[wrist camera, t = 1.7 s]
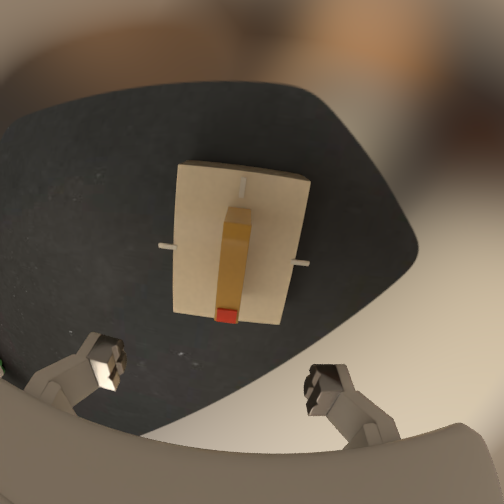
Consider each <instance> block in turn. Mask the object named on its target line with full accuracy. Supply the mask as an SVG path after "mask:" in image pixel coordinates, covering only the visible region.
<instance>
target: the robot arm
mask: <svg viewBox="0 0 504 504" xmlns="http://www.w3.org/2000/svg"><path fill="white" fill-rule="evenodd" d="M123 348H124V343H123V340H121V339H117V338H113V337H110V336H106V335H103V334H99V333H95V332H91V333H90V334H89V335H88V337H87V338H86V340H85V341H84V343H83V344H82V346H81V348H80V349H79V351H78V352H77V354H76V355H75V354H72V355H70V356H68V357H66V358H64V359H62V360H60V361H58V362H56V363H54V364H52V365H50V366H47V367H45V368H43V369H41V370H39V371H37V372H35V373H34V375H33V376H32V378H31V379H30V381H29V382H28V384H27V385H26V387H25V389H24V390H21V389H19V388H17V387H15V386H14V385H12V384H10V383H9V382H7V381H5V380H4V379H2V378H0V504H504V501H503V496H502V492H501V487H500V483H499V479H498V476H497V473H496V470H495V467H494V464H493V461H492V458H491V456H490V453H489V450H488V448H487V445H486V443H485V441H484V439H483V438H482V436H481V435H480V434H478V433H477V432H476V431H474V430H473V429H471V428H470V427H468V426H467V425H465V424H463V423H455V424H452V425H449V426H446V427H443V428H440V429H437V430H434V431H430V432H427V433H424V434H420V435H417V436H413V437H409V438H405V439H401V438H400V435H399V432H398V430H397V427H396V425H395V422H394V419H393V418H392V417H390V416H389V415H388V414H386V413H385V412H384V411H383V410H381V409H380V408H379V407H378V406H376V405H375V404H374V403H373V402H371V401H370V400H369V399H368V398H366V397H365V396H364V395H363V394H362V393H360V392H359V391H355V388H354V385H353V383H352V380H351V377H350V374H349V372H348V369H347V366H346V365H344V364H335V365H333V364H324V365H323V364H313V365H312V366H311V367H310V370H309V371H310V375H308V376H307V377H306V380H305V382H304V396H305V397H306V398H307V399H308V401H307V403H306V407H307V412H308V416H326V417H327V418H328V419H329V421H330V422H331V423H332V424H333V425H334V426H335V427H336V429H338V431H339V432H340V433H341V434H342V435H343V436H344V437H345V439H346V440H347V441H348V442H349V443H348V444H347V445H346V446H345V447H344V448H343V450H337V451H327V452H314V453H297V454H296V453H294V454H261V453H259V454H258V453H240V452H228V451H217V450H208V449H201V448H194V447H188V446H182V445H176V444H171V443H166V442H161V441H156V440H152V439H148V438H143V437H140V436H136V435H132V434H129V433H125V432H122V431H118V430H115V429H112V428H109V427H106V426H103V425H100V424H97V423H94V422H91V421H88V420H86V419H83V418H80V417H78V416H77V415H76V413H75V412H74V410H73V408H72V407H73V406H74V405H76V404H77V403H79V402H80V401H81V400H83V399H84V398H85V397H87V396H88V395H89V394H91V393H92V392H94V391H95V390H96V389H98V388H99V387H102V388H106V389H109V390H113V391H116V389H117V387H118V385H119V382H120V377H119V375H121V374H123V373H124V371H125V368H126V363H127V357H126V353H125V352H124V351H123Z"/></svg>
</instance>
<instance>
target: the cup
mask: <svg viewBox="0 0 504 504" xmlns="http://www.w3.org/2000/svg"><path fill="white" fill-rule="evenodd" d="M4 373H5V369H4V367H3V366H2V360H1V359H0V378H1V377H2V376H3V374H4Z"/></svg>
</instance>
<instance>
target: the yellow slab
mask: <svg viewBox="0 0 504 504" xmlns="http://www.w3.org/2000/svg"><path fill="white" fill-rule="evenodd" d="M251 229H252V214H251V209H245V208H237V207H228V209H227V212H226V216H225V219H224V223H223V232H222V241H221V251H220V261H219V271H218V282H217V293H216V304H215V316H214V321H217V322H226V323H234V324H235V323H236V324H237V323H238V318H239V311H240V304H241V297H242V290H243V283H244V276H245V269H246V263H247V256H248V249H249V242H250V235H251Z"/></svg>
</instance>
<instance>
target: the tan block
mask: <svg viewBox="0 0 504 504" xmlns="http://www.w3.org/2000/svg"><path fill="white" fill-rule="evenodd" d="M310 184H311V181H309V180H308V179H307V178H305V177H304V176H303V175H301V174H296V173H290V172H284V171H278V170H271V169H264V168H257V167H250V166H242V165H234V164H226V163H216V162H206V161H196V160H188V161H186V162H183V163H181V164H179V165H178V172H177V185H176V200H175V217H174V243H173V244H166V243H159V248H165V249H173V312H177V313H183V314H190V315H197V316H204V317H212V318H214V316H215V304H216V293H217V282H218V271H219V261H220V251H221V241H222V232H223V223H224V219H225V216H226V212H227V209H228V207H237V208H245V209H251V214H252V229H251V235H250V242H249V249H248V256H247V263H246V269H245V276H244V283H243V290H242V297H241V304H240V311H239V318H238V321H246V322H255V323H266V324H277V325H279V324H280V320H281V316H282V312H283V308H284V304H285V300H286V296H287V292H288V288H289V283H290V279H291V275H292V270H293V266H294V265H302V266H309V263H310V262H309V261H304V260H295V257H296V253H297V248H298V243H299V239H300V234H301V229H302V225H303V220H304V215H305V210H306V205H307V200H308V195H309V189H310Z"/></svg>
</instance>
